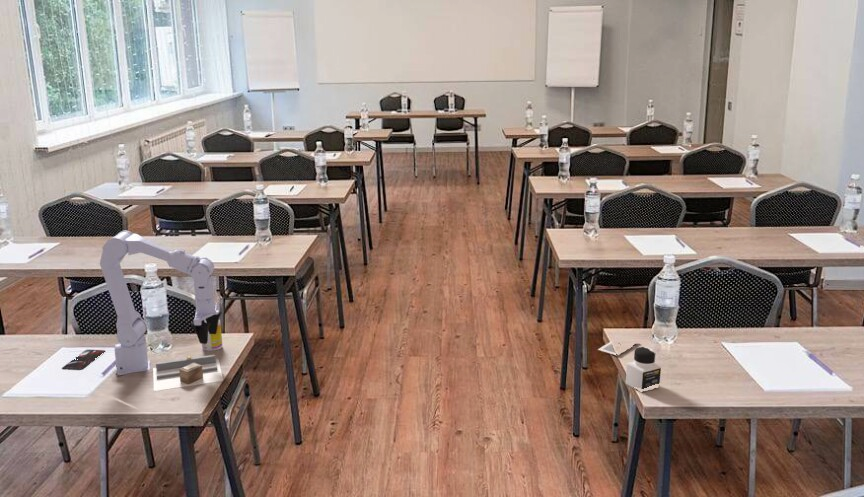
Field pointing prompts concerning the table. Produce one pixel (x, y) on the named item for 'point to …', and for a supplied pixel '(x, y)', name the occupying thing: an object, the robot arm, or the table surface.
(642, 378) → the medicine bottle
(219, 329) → the supplement bottle
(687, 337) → the table surface
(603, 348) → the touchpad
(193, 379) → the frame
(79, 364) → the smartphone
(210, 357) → the wall board
